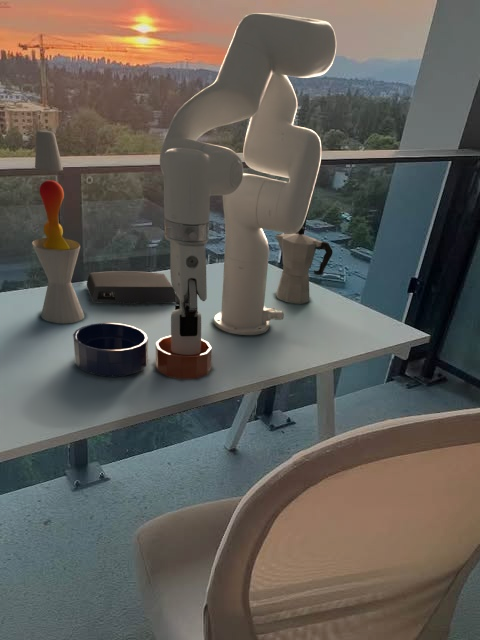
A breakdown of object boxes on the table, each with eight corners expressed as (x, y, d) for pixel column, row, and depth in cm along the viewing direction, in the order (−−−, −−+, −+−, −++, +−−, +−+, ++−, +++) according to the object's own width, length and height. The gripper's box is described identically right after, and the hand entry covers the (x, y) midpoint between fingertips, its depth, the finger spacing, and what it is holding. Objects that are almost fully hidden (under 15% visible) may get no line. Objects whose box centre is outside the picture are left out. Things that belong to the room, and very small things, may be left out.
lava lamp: (90, 321, 132) (78, 137, 112) (46, 325, 127) (25, 133, 108) (78, 306, 138) (64, 129, 118) (35, 309, 133) (13, 125, 114)
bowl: (142, 348, 124) (141, 322, 121) (152, 377, 115) (152, 350, 112) (73, 350, 120) (71, 323, 117) (78, 380, 110) (75, 351, 107)
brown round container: (203, 355, 126) (204, 334, 123) (215, 378, 118) (216, 356, 116) (152, 356, 122) (152, 335, 120) (161, 380, 114) (161, 357, 112)
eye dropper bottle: (178, 344, 122) (178, 283, 114) (204, 351, 120) (206, 291, 113) (167, 351, 118) (166, 290, 111) (193, 359, 117) (194, 297, 110)
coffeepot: (263, 296, 160) (269, 224, 150) (275, 287, 168) (282, 218, 158) (319, 310, 158) (329, 237, 147) (329, 300, 165) (340, 230, 155)
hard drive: (86, 286, 149) (84, 269, 147) (166, 286, 157) (166, 270, 154) (92, 305, 140) (91, 287, 137) (178, 305, 147) (178, 288, 145)
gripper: (219, 245, 101) (215, 349, 112) (198, 217, 113) (196, 313, 124) (173, 244, 99) (174, 350, 109) (156, 215, 111) (158, 313, 121)
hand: (186, 329), depth 117 cm, fingers closed on eye dropper bottle, 3 cm apart
